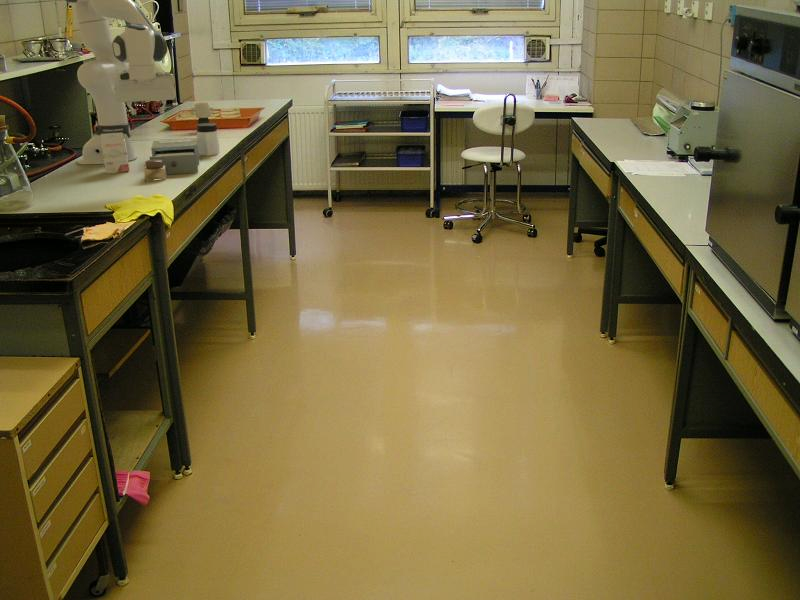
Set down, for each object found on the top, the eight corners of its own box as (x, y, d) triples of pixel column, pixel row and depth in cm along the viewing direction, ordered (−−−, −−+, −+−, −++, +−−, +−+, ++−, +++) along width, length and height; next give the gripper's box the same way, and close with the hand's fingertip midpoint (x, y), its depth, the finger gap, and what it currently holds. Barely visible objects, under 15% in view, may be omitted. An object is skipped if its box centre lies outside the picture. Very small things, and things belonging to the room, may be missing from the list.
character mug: (217, 129, 410) (214, 102, 405) (214, 132, 403) (212, 104, 399) (194, 130, 410) (191, 102, 405) (191, 132, 403) (188, 104, 398)
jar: (202, 156, 345) (199, 126, 341) (195, 153, 352) (192, 124, 347) (223, 154, 350) (220, 124, 346) (216, 151, 356) (213, 122, 352)
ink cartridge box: (129, 169, 325) (124, 130, 320) (129, 171, 320) (123, 132, 315) (105, 171, 323) (100, 132, 318) (105, 173, 318) (99, 134, 313)
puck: (145, 169, 303) (144, 163, 302) (146, 166, 308) (145, 159, 308) (162, 168, 304) (162, 161, 303) (163, 165, 310) (162, 158, 309)
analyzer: (153, 167, 327) (151, 147, 324) (155, 159, 341) (153, 140, 339) (199, 164, 330) (197, 144, 327) (199, 157, 344) (197, 137, 342)
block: (145, 181, 304) (144, 170, 302) (146, 177, 310) (145, 166, 309) (165, 179, 305) (164, 168, 304) (166, 175, 312) (165, 165, 310)
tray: (151, 175, 311) (149, 157, 309) (154, 166, 327) (152, 149, 325) (198, 172, 314) (196, 154, 312) (198, 163, 330) (196, 146, 328)
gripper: (174, 71, 300) (178, 111, 305) (113, 74, 296) (119, 114, 301) (173, 72, 294) (178, 113, 299) (111, 75, 290) (117, 117, 295)
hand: (148, 114), depth 300 cm, fingers open, 8 cm apart
